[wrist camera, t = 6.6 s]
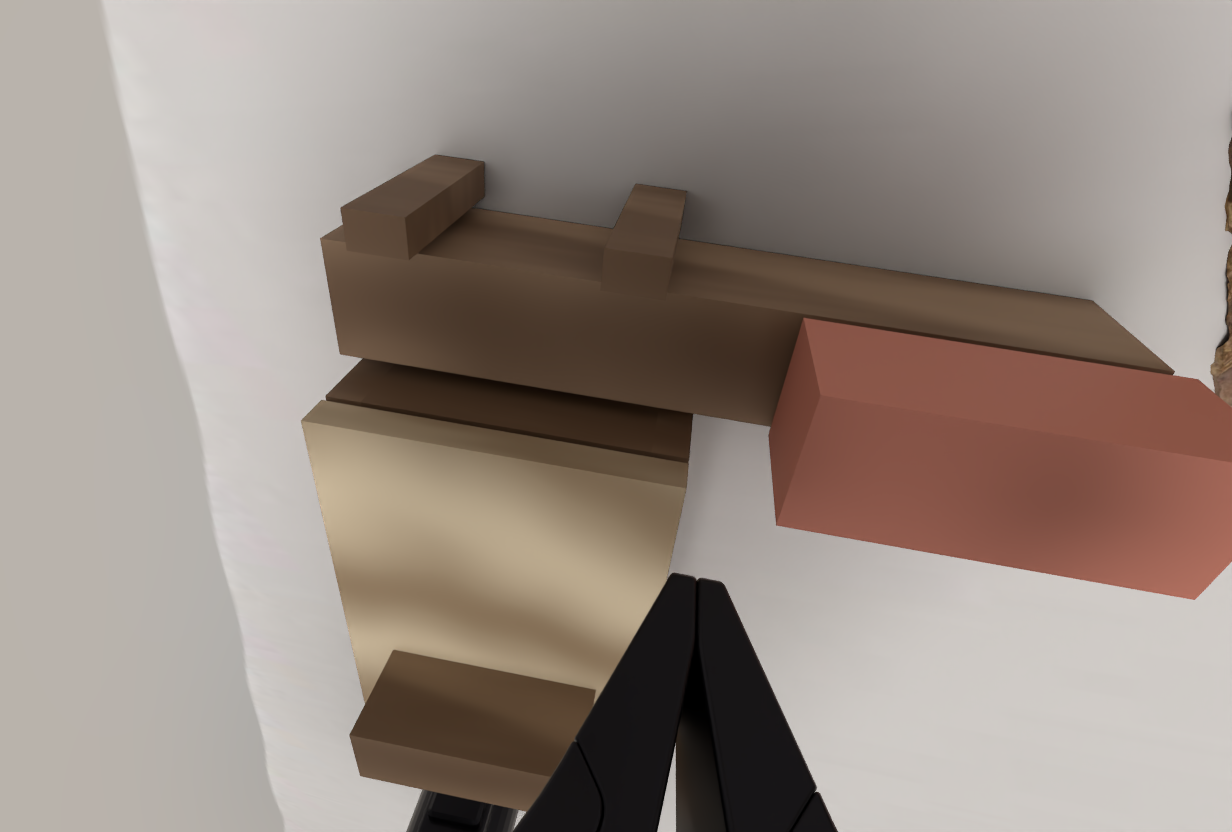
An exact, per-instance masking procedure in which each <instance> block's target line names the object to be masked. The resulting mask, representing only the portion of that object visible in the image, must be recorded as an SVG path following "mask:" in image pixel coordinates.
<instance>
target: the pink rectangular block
mask: <svg viewBox="0 0 1232 832" xmlns="http://www.w3.org/2000/svg"><path fill="white" fill-rule="evenodd" d="M769 446H770V458H771V470H772V482H773V493H774V505H775V517H776V525H777V526H783V527H788V528H794V529H800V530H805V531H811V532H816V533H822V534H828V535H833V536H839V537H845V538H850V539H856V540H861V541H867V542H873V543H878V544H884V545H889V546H895V547H901V548H906V549H912V550H918V551H923V552H929V553H934V554H940V555H946V556H951V557H957V558H962V559H968V560H974V561H979V562H985V563H991V564H996V565H1002V566H1007V567H1013V568H1019V569H1024V570H1030V571H1036V572H1041V573H1047V574H1052V575H1058V576H1064V577H1069V578H1075V579H1080V580H1086V581H1092V582H1097V583H1103V584H1109V585H1114V586H1120V587H1125V588H1131V589H1137V590H1142V591H1148V592H1153V593H1159V594H1165V595H1170V596H1176V597H1182V598H1187V599H1193V600H1195V599H1196V598H1197V597H1198V596H1199V595H1200V594H1201V593H1202V592H1203V591H1204V590H1205V589H1206V588H1207V587H1208V586H1209V585H1210V584H1211V583H1212V581H1213V580H1214V579H1215V578H1216V577H1217V576H1218V575H1219V574H1220V573H1221V572H1222V571H1223V570H1224V569H1225V568H1226V567H1227V566H1228V565H1229V564H1230V563H1231V562H1232V407H1231V406H1229V405H1228V404H1227V403H1226V402H1225V401H1223V400H1222V399H1221V398H1220V397H1219V396H1217V395H1216V394H1215V393H1214V392H1213V391H1211V390H1210V389H1209V388H1208V387H1207V386H1205V385H1204V384H1203V383H1202V382H1201V381H1199V380H1198V379H1193V378H1186V377H1180V376H1173V375H1167V374H1161V373H1154V372H1148V371H1141V370H1135V369H1129V368H1122V367H1116V366H1109V365H1103V364H1097V363H1090V362H1084V361H1077V360H1071V359H1065V358H1058V357H1052V356H1045V355H1039V354H1033V353H1026V352H1020V351H1013V350H1007V349H1000V348H994V347H988V346H981V345H975V344H968V343H962V342H956V341H949V340H943V339H936V338H930V337H924V336H917V335H911V334H904V333H898V332H892V331H885V330H879V329H872V328H866V327H860V326H853V325H847V324H840V323H834V322H828V321H821V320H815V319H808V318H803V321H802V324H801V328H800V331H799V335H798V338H797V341H796V345H795V348H794V351H793V355H792V358H791V361H790V365H789V368H788V371H787V375H786V378H785V381H784V385H783V388H782V392H781V395H780V398H779V402H778V405H777V408H776V412H775V415H774V418H773V422H772V425H771V428H770V432H769Z"/></svg>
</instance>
